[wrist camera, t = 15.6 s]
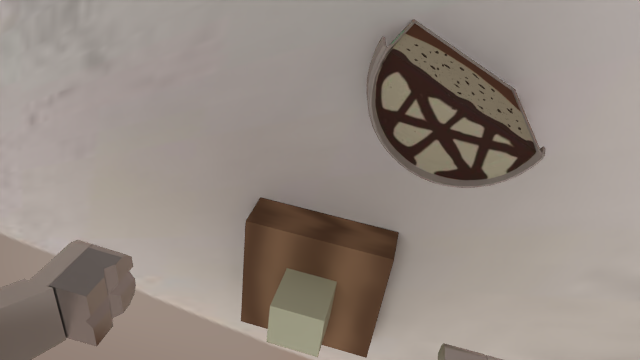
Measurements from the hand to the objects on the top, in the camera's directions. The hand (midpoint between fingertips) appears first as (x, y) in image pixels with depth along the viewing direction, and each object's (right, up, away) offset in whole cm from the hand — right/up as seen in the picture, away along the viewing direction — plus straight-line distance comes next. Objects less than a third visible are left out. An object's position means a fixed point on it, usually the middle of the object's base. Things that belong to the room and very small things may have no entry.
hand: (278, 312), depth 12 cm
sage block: (0, -8, +35) cm, 36 cm away
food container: (+10, +11, +26) cm, 30 cm away
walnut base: (+1, -6, +39) cm, 39 cm away
